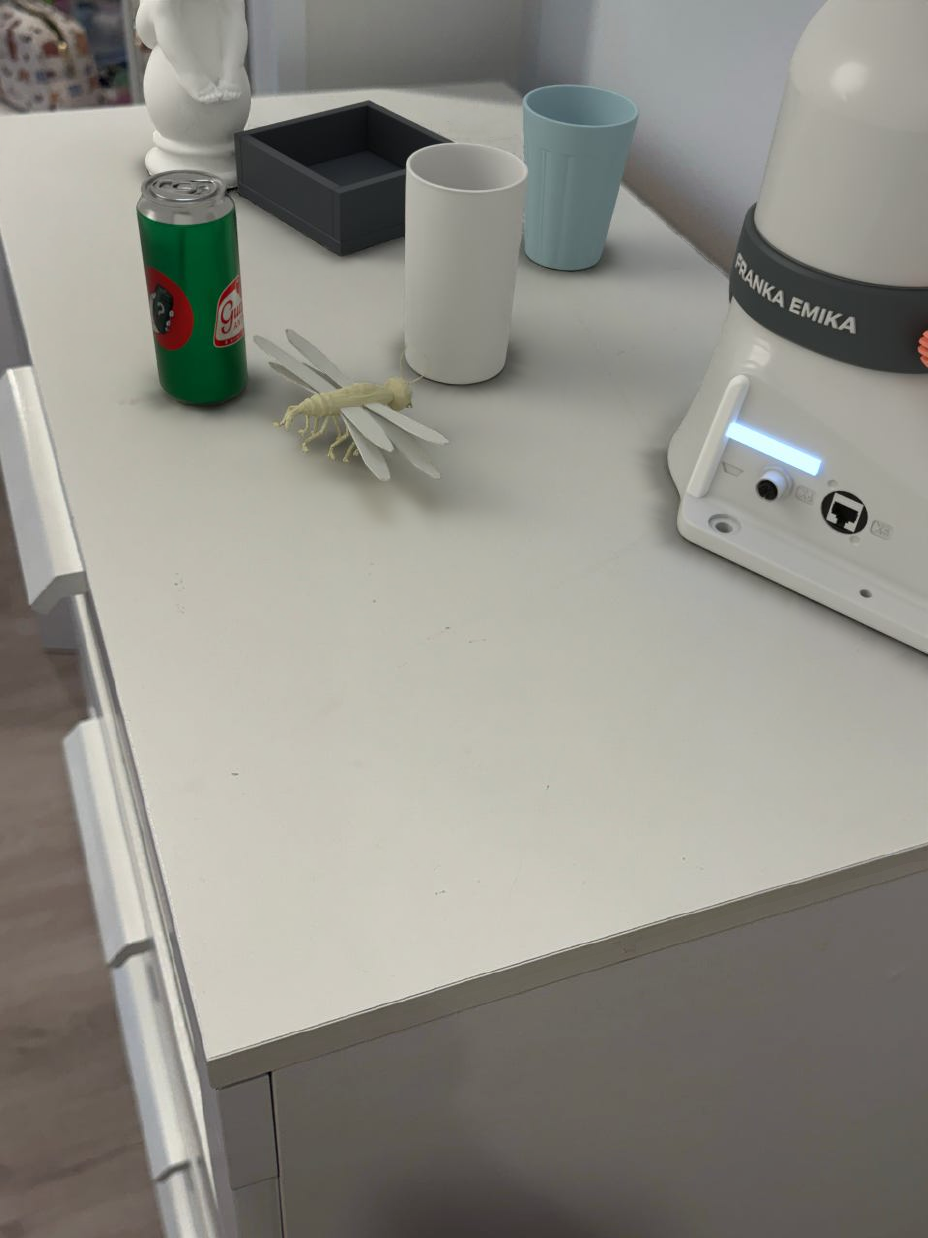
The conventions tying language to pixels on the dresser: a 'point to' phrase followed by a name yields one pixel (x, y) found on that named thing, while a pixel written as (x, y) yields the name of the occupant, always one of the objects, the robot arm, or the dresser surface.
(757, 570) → the robot arm
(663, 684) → the dresser surface
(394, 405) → the toy
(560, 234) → the cup
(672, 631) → the dresser surface
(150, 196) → the soda can
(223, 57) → the cherub figurine
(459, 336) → the mug
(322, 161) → the bin
